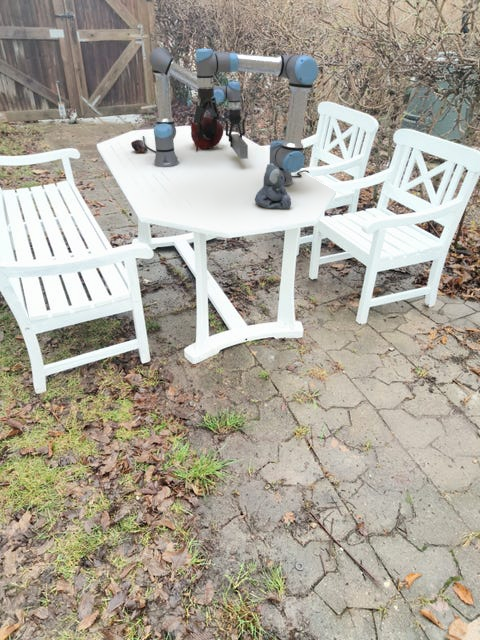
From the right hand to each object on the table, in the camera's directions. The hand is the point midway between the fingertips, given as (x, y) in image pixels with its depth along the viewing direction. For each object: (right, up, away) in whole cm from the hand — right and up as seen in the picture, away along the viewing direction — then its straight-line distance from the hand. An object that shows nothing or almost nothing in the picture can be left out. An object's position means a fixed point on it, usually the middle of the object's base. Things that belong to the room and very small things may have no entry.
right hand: (207, 136), depth 220 cm
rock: (-56, +29, +99) cm, 117 cm away
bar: (+15, +19, +72) cm, 76 cm away
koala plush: (+32, -31, +11) cm, 46 cm away
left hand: (+13, +27, +82) cm, 87 cm away
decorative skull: (-8, +37, +110) cm, 116 cm away
